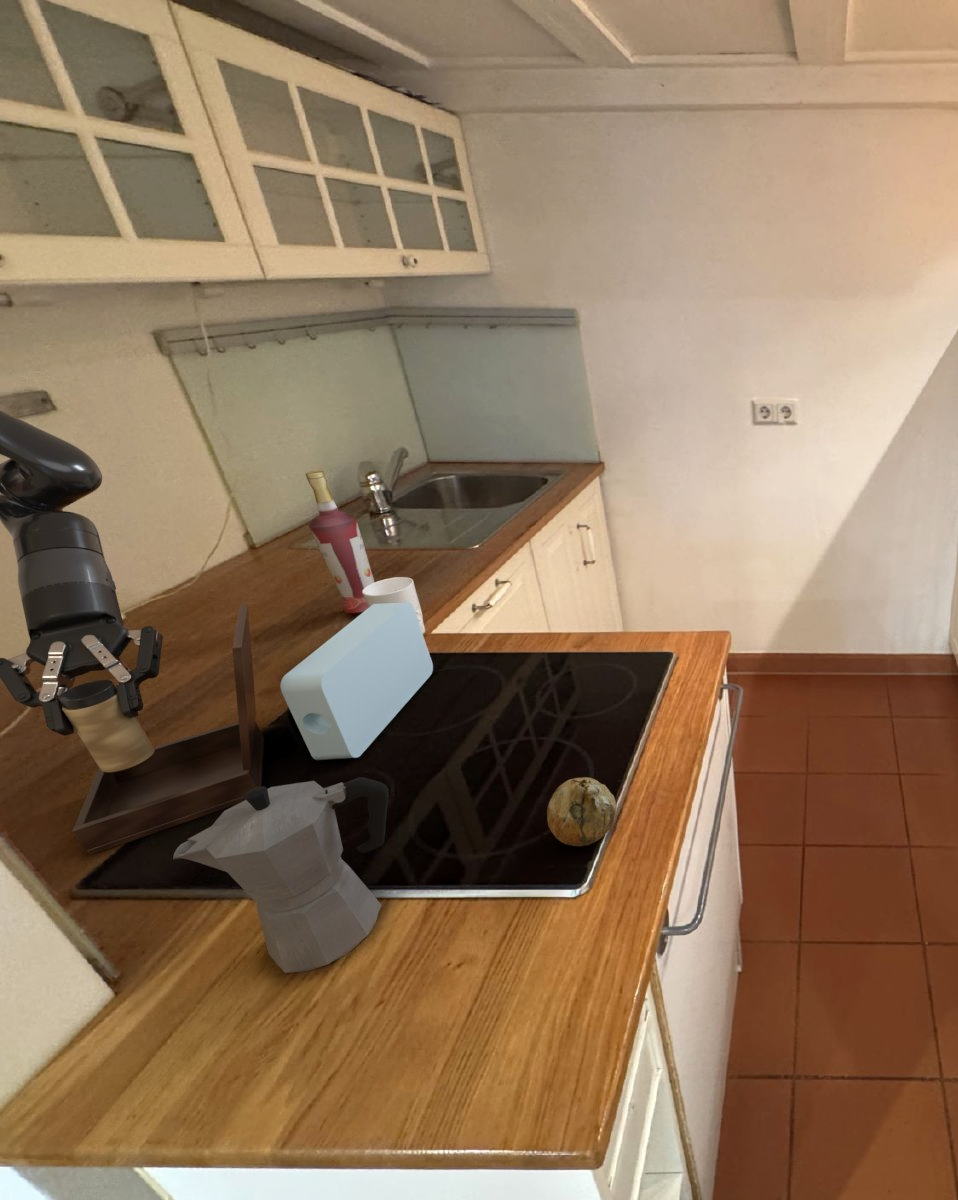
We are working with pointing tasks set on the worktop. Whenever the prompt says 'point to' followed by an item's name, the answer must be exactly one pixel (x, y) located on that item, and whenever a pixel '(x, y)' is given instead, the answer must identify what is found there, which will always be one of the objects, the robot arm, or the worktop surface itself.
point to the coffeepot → (297, 867)
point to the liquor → (340, 546)
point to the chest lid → (244, 686)
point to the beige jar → (105, 726)
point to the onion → (581, 811)
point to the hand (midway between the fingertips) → (98, 723)
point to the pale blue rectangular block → (358, 681)
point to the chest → (168, 788)
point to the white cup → (394, 594)
